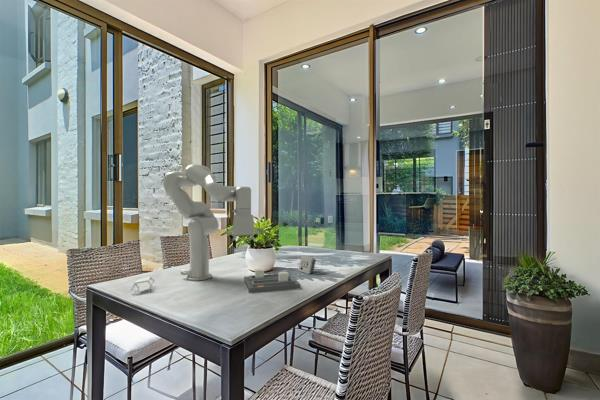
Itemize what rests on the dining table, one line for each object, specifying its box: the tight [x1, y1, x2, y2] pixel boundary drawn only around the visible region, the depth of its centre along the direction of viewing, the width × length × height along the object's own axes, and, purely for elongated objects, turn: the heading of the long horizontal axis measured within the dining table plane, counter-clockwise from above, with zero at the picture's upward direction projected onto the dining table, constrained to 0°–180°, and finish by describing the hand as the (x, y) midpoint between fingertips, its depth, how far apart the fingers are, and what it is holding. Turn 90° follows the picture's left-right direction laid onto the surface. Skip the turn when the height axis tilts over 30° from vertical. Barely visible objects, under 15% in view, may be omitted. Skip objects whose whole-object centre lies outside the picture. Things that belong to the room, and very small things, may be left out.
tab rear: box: [254, 268, 265, 278], centre depth 154 cm, size 4×3×4 cm
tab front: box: [277, 271, 289, 282], centre depth 148 cm, size 4×3×4 cm
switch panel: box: [243, 273, 301, 294], centre depth 151 cm, size 24×20×3 cm
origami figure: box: [130, 276, 155, 293], centre depth 142 cm, size 12×8×5 cm
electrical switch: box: [298, 254, 317, 275], centre depth 175 cm, size 9×5×9 cm, turn 41°
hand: (243, 247), depth 151 cm, fingers open, 7 cm apart
